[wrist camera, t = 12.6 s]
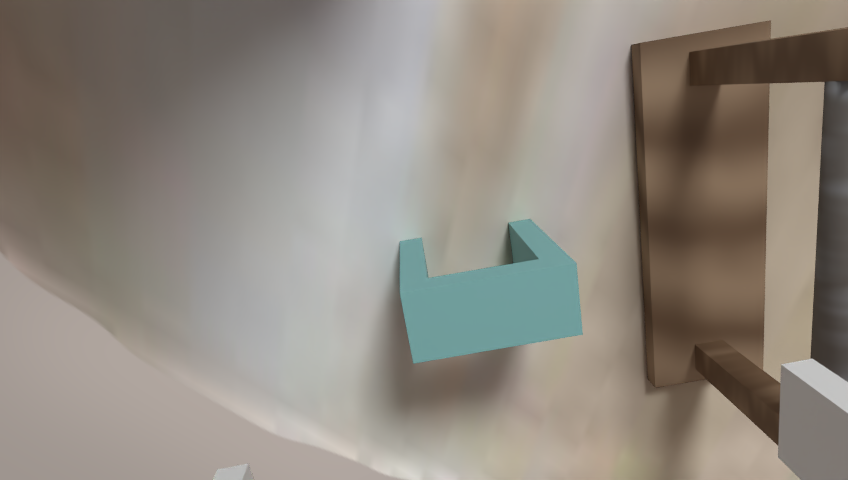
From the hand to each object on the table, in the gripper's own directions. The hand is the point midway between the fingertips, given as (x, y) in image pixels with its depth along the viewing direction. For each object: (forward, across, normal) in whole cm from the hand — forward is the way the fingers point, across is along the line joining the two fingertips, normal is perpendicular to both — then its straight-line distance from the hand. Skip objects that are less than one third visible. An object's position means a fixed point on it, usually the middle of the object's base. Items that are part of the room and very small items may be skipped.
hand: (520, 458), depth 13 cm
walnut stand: (+23, +17, -3) cm, 29 cm away
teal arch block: (+23, +1, -3) cm, 23 cm away
